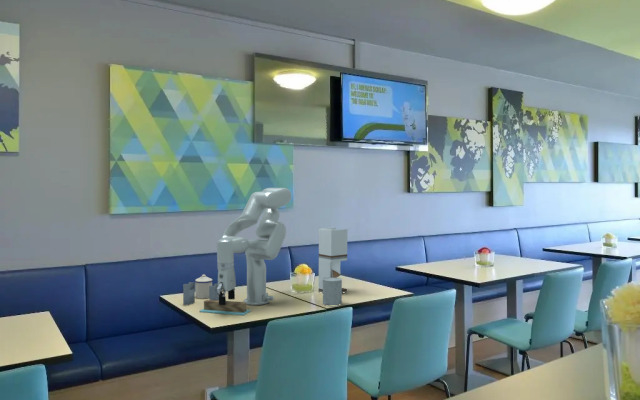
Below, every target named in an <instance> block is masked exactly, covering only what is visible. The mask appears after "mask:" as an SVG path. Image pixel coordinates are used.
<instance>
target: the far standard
mask: <svg viewBox="0 0 640 400" xmlns="http://www.w3.org/2000/svg"><path fill="white" fill-rule="evenodd" d="M182 287H183V288H182V290H183V293H182V294H183V295H182V296H183V300H182V302H183V303H182V305H184V306H191V305H192V304H194V303H195V301H196V299H195V298H196V297H195V281H193V282H190V281H189V282H188V283H184V284H182Z"/></svg>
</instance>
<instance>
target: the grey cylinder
mask: <svg viewBox="0 0 640 400" xmlns="http://www.w3.org/2000/svg"><path fill="white" fill-rule="evenodd" d="M342 288H343V279H342V278H339V277H337V278H324V279H323V293H322V305H323V304H325V305H324V306H326V305H339V304H341V303H342V304H343V301H342V298H343V297H342V295H343V294H342Z"/></svg>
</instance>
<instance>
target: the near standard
mask: <svg viewBox="0 0 640 400" xmlns="http://www.w3.org/2000/svg"><path fill="white" fill-rule="evenodd" d="M217 288H218V283H213V285H212V286H209V298H208V300H219V297H218V292H217Z"/></svg>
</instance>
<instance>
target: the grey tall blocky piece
mask: <svg viewBox="0 0 640 400" xmlns="http://www.w3.org/2000/svg"><path fill="white" fill-rule="evenodd" d="M345 261H348V228H341V229H340V228H339V229H337V228H336V227H325V228H319V229H318V293H320V292H322V293H321V294H323V279H324V278H339V277H340V276H341V262H345ZM343 292H347V293H348V289H347V288H344V287H342V293H343ZM343 294H344V293H343Z"/></svg>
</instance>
